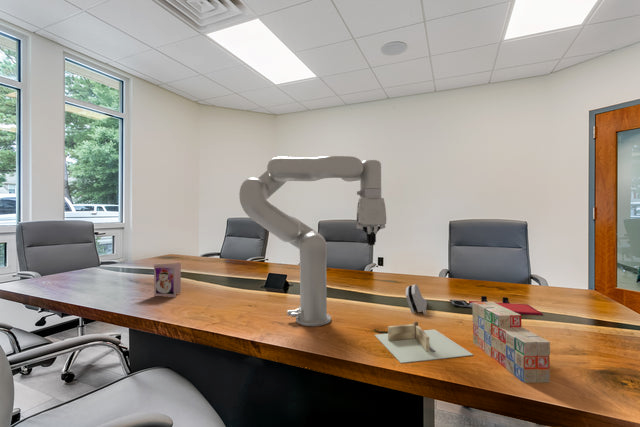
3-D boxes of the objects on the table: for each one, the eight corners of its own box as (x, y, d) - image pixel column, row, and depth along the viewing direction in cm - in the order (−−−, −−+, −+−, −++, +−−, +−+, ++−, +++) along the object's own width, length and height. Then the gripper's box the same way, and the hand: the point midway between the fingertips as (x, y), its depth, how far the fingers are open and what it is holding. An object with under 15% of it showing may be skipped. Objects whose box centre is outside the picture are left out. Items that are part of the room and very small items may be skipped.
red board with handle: (448, 300, 131) (457, 311, 116) (448, 294, 131) (457, 304, 116) (523, 304, 125) (542, 317, 111) (523, 298, 125) (542, 309, 111)
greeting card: (152, 296, 139) (152, 265, 139) (163, 292, 146) (163, 262, 146) (174, 297, 137) (174, 265, 137) (184, 293, 144) (184, 263, 144)
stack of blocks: (551, 383, 66) (550, 328, 66) (523, 383, 66) (522, 328, 66) (493, 342, 87) (492, 300, 88) (472, 342, 87) (471, 301, 87)
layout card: (400, 363, 75) (400, 362, 75) (374, 335, 93) (374, 334, 93) (473, 355, 79) (473, 354, 79) (434, 329, 97) (434, 329, 97)
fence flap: (415, 337, 89) (415, 325, 89) (418, 337, 89) (418, 325, 89) (426, 350, 81) (426, 337, 81) (429, 350, 81) (429, 337, 81)
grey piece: (425, 314, 112) (415, 289, 113) (413, 317, 113) (403, 292, 115) (427, 302, 127) (418, 280, 128) (416, 305, 129) (408, 283, 130)
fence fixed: (389, 342, 88) (389, 325, 88) (387, 340, 89) (387, 323, 89) (418, 339, 90) (418, 322, 90) (416, 337, 91) (416, 321, 91)
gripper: (354, 193, 103) (354, 246, 102) (394, 194, 105) (394, 245, 105) (348, 195, 110) (348, 244, 110) (385, 195, 113) (386, 243, 113)
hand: (371, 244), depth 108 cm, fingers closed
